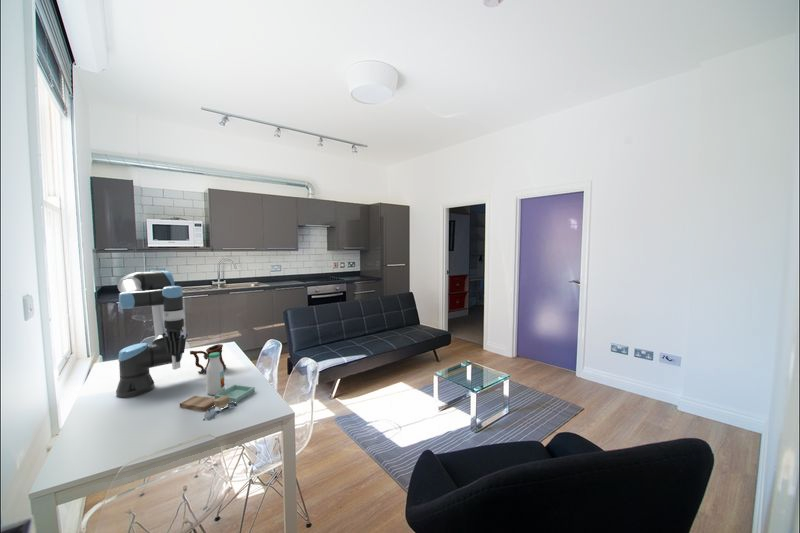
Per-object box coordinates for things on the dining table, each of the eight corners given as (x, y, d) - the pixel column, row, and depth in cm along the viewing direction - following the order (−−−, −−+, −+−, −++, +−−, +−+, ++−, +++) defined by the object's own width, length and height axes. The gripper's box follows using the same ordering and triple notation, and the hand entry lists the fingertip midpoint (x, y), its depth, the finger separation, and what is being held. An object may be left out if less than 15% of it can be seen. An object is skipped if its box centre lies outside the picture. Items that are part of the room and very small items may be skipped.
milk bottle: (216, 396, 156) (215, 356, 155) (203, 394, 158) (201, 355, 157) (228, 389, 164) (226, 351, 163) (215, 388, 166) (213, 350, 164)
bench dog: (214, 411, 142) (214, 400, 142) (223, 406, 147) (223, 395, 146) (220, 412, 141) (219, 401, 141) (229, 406, 146) (228, 396, 146)
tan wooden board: (179, 408, 145) (179, 403, 145) (194, 400, 153) (194, 395, 153) (204, 412, 142) (204, 407, 142) (218, 404, 150) (218, 398, 149)
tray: (214, 400, 152) (214, 395, 152) (234, 389, 164) (234, 384, 164) (235, 403, 149) (235, 398, 149) (254, 392, 161) (254, 387, 161)
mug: (192, 378, 177) (190, 352, 176) (189, 372, 186) (188, 347, 185) (228, 370, 189) (227, 346, 188) (224, 365, 197) (223, 341, 197)
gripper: (155, 320, 147) (158, 369, 148) (177, 321, 143) (179, 372, 145) (171, 316, 154) (173, 364, 155) (192, 318, 150) (194, 366, 152)
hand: (176, 368), depth 150 cm, fingers closed
